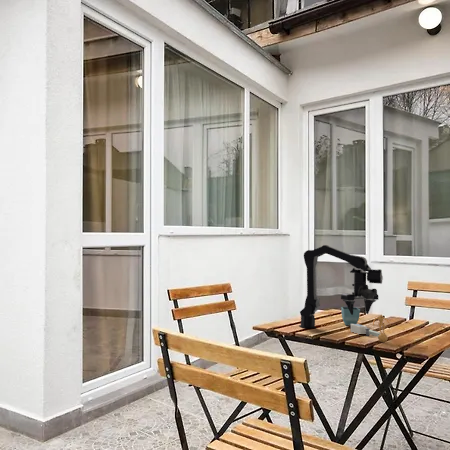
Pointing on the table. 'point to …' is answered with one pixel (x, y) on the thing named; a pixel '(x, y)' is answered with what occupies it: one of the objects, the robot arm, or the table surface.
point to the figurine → (382, 336)
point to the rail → (369, 332)
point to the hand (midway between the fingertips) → (359, 314)
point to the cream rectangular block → (358, 328)
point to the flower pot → (348, 317)
